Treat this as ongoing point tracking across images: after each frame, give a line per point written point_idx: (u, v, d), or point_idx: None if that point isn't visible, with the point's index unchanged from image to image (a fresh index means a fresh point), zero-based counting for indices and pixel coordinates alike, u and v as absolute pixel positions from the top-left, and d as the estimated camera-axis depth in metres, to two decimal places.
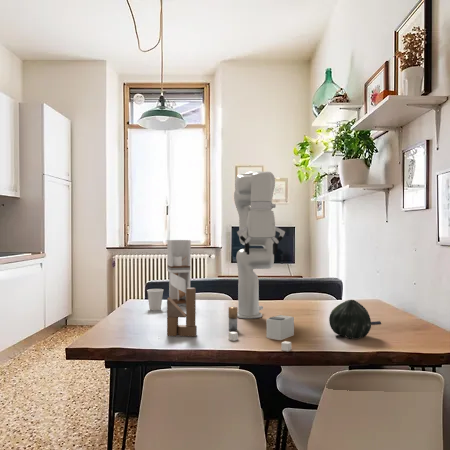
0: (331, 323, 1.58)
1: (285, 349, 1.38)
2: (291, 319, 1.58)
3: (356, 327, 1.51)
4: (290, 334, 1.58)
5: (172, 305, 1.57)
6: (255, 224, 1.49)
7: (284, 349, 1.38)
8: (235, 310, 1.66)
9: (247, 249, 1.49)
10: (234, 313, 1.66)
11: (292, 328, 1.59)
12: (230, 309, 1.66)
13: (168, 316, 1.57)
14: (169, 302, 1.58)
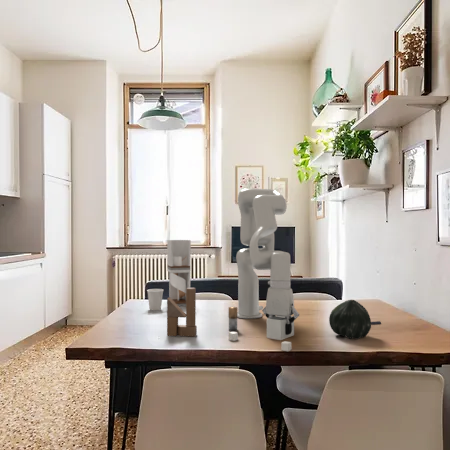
0: (331, 323, 1.58)
1: (285, 349, 1.38)
2: None
3: (356, 327, 1.51)
4: (290, 334, 1.58)
5: (172, 305, 1.57)
6: None
7: (284, 349, 1.38)
8: (235, 310, 1.66)
9: None
10: (234, 313, 1.66)
11: (292, 328, 1.59)
12: (230, 309, 1.66)
13: (168, 316, 1.57)
14: (169, 302, 1.58)
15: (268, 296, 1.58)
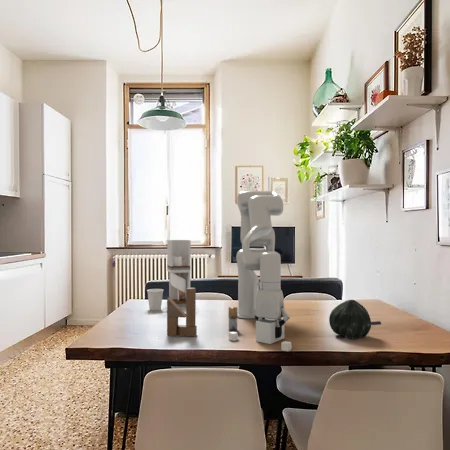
0: (331, 323, 1.58)
1: (285, 349, 1.38)
2: None
3: (356, 327, 1.51)
4: (280, 337, 1.52)
5: (172, 305, 1.57)
6: None
7: (284, 349, 1.38)
8: (235, 310, 1.66)
9: None
10: (234, 313, 1.66)
11: (282, 331, 1.53)
12: (230, 309, 1.66)
13: (168, 316, 1.57)
14: (169, 302, 1.58)
15: (257, 298, 1.52)
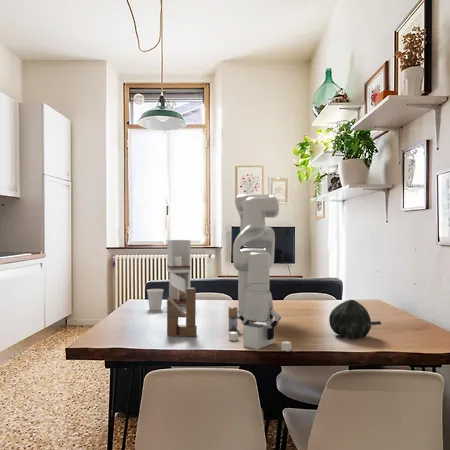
0: (331, 323, 1.58)
1: (285, 349, 1.38)
2: None
3: (356, 327, 1.51)
4: (269, 342, 1.46)
5: (172, 305, 1.57)
6: None
7: (284, 349, 1.38)
8: (235, 310, 1.66)
9: None
10: (234, 313, 1.66)
11: None
12: (230, 309, 1.66)
13: (168, 316, 1.57)
14: (169, 302, 1.58)
15: (245, 300, 1.46)
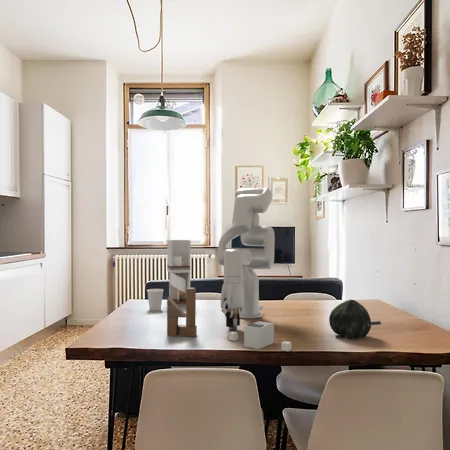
0: (331, 323, 1.58)
1: (285, 349, 1.38)
2: (271, 326, 1.47)
3: (356, 327, 1.51)
4: (270, 342, 1.46)
5: (172, 305, 1.57)
6: (234, 297, 1.64)
7: (284, 349, 1.38)
8: (235, 310, 1.66)
9: (232, 323, 1.65)
10: (234, 313, 1.66)
11: (272, 335, 1.47)
12: None
13: (168, 316, 1.57)
14: (169, 302, 1.58)
15: None
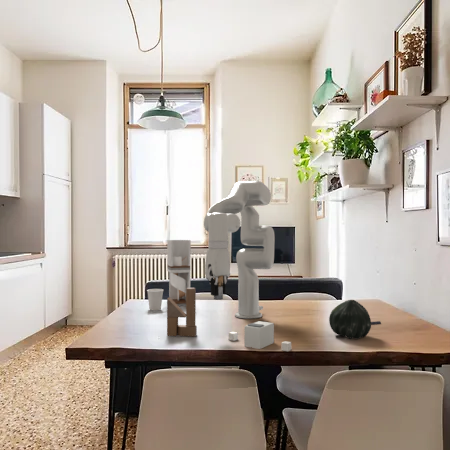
0: (331, 323, 1.58)
1: (285, 349, 1.38)
2: (271, 326, 1.47)
3: (356, 327, 1.51)
4: (270, 342, 1.46)
5: (172, 305, 1.57)
6: (219, 263, 1.54)
7: (284, 349, 1.38)
8: (220, 277, 1.56)
9: (217, 290, 1.54)
10: (220, 280, 1.55)
11: (272, 335, 1.48)
12: None
13: (168, 316, 1.57)
14: (169, 302, 1.58)
15: None
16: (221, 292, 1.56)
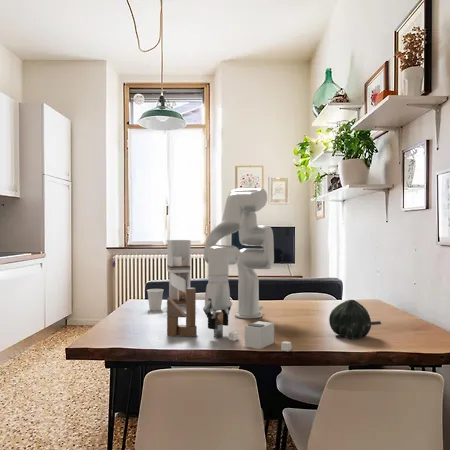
0: (331, 323, 1.58)
1: (285, 349, 1.38)
2: (271, 326, 1.47)
3: (356, 327, 1.51)
4: (270, 342, 1.46)
5: (172, 305, 1.57)
6: (219, 297, 1.54)
7: (284, 349, 1.38)
8: (220, 315, 1.55)
9: (214, 324, 1.53)
10: (220, 318, 1.55)
11: (272, 335, 1.48)
12: (215, 314, 1.55)
13: (168, 316, 1.57)
14: (169, 302, 1.58)
15: None
16: (221, 330, 1.56)
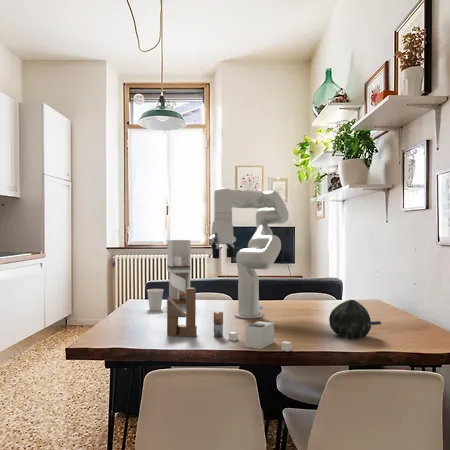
0: (331, 323, 1.58)
1: (285, 349, 1.38)
2: (271, 325, 1.47)
3: (356, 327, 1.51)
4: (270, 342, 1.46)
5: (172, 305, 1.57)
6: (224, 232, 1.74)
7: (284, 349, 1.38)
8: (220, 315, 1.55)
9: (218, 254, 1.72)
10: (220, 318, 1.55)
11: (272, 335, 1.48)
12: (215, 314, 1.55)
13: (168, 316, 1.57)
14: (169, 302, 1.57)
15: None
16: (221, 330, 1.56)
